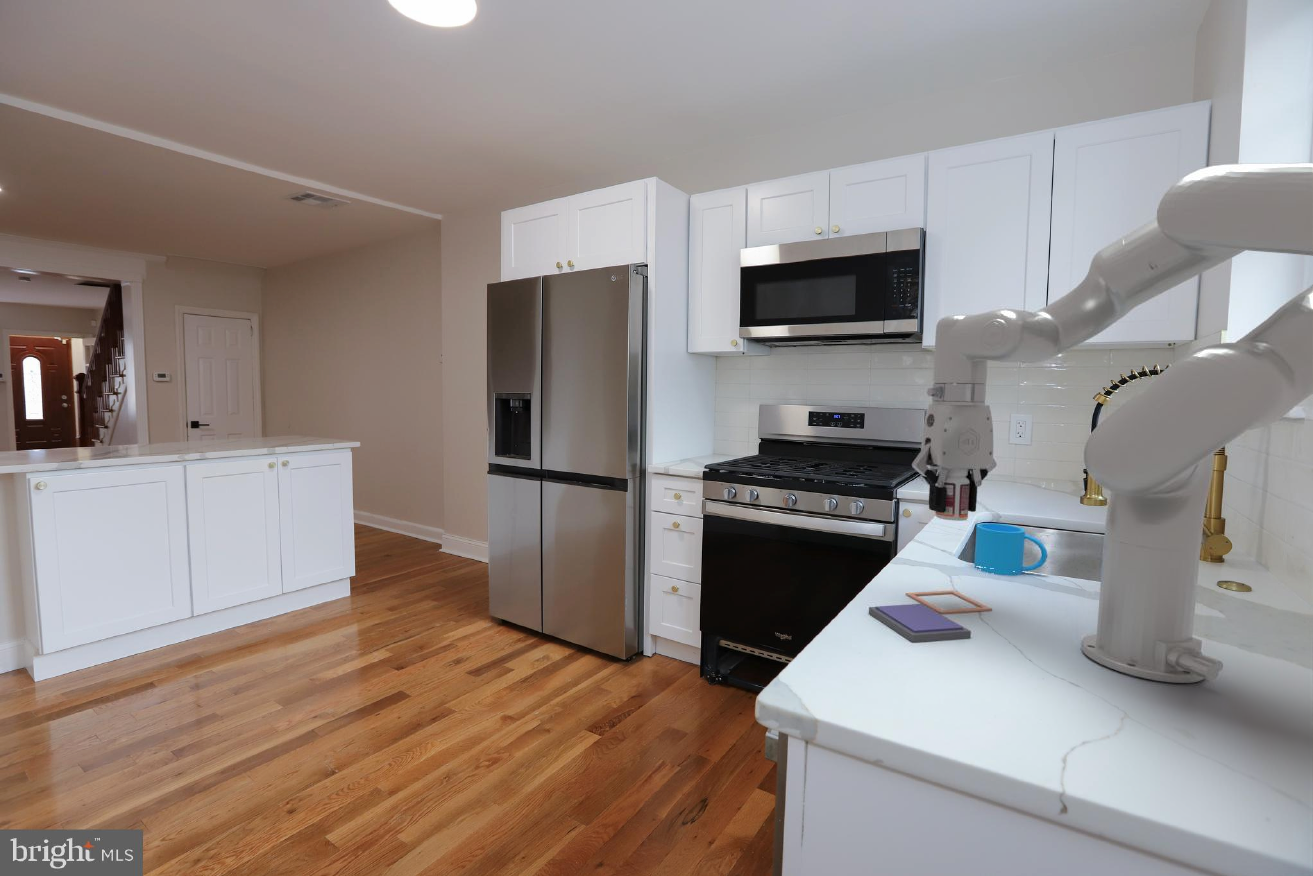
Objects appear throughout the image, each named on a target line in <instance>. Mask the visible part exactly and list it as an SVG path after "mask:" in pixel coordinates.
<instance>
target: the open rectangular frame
mask: <svg viewBox="0 0 1313 876" xmlns="http://www.w3.org/2000/svg"><path fill="white" fill-rule="evenodd" d="M941 595H953V596H955V597H958V598H959V599H961V600H964V601H966V602H968V603H970V604H973V605H974V606H976V607H969V608H967V607H966V608H965V607H964V608H953V609H941V608H939V607H937V606H936V605H933V604H932V603H930V602H928V601H926V600H924V599H923V598H920V596H941ZM905 596H907V597H909V598H910V599H913V600H914V601H916V602H918V603H919V604H923V605H924V606H926V607H928V608H930V609H932V610H934V611H935V612H937V613H939V614H941V615H944V614H945V615H947V614H959V613H961V614H963V613H974V612H975V613H977V612H978V613H979V612H990V611H992V610H993V608H991V607H989V606H987V605H985V604H983V603H981V602H979V601H976V600H974V599H972V598H970V597H968V596H966V595H964V594H962V593H960V592H957V591H956V590H951V589H950V590H939V591H938V590H935V591H921V592H920V591H919V592H918V591H917V592H905Z"/></svg>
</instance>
